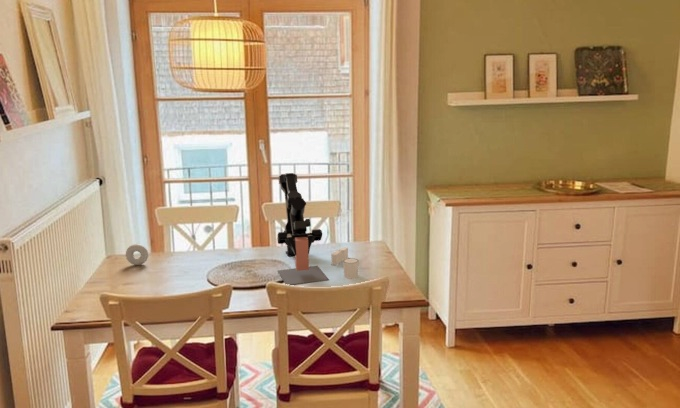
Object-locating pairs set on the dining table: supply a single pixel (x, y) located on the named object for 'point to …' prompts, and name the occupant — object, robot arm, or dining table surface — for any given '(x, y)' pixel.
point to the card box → (301, 253)
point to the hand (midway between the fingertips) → (302, 254)
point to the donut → (133, 259)
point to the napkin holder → (339, 255)
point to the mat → (302, 275)
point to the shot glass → (351, 268)
